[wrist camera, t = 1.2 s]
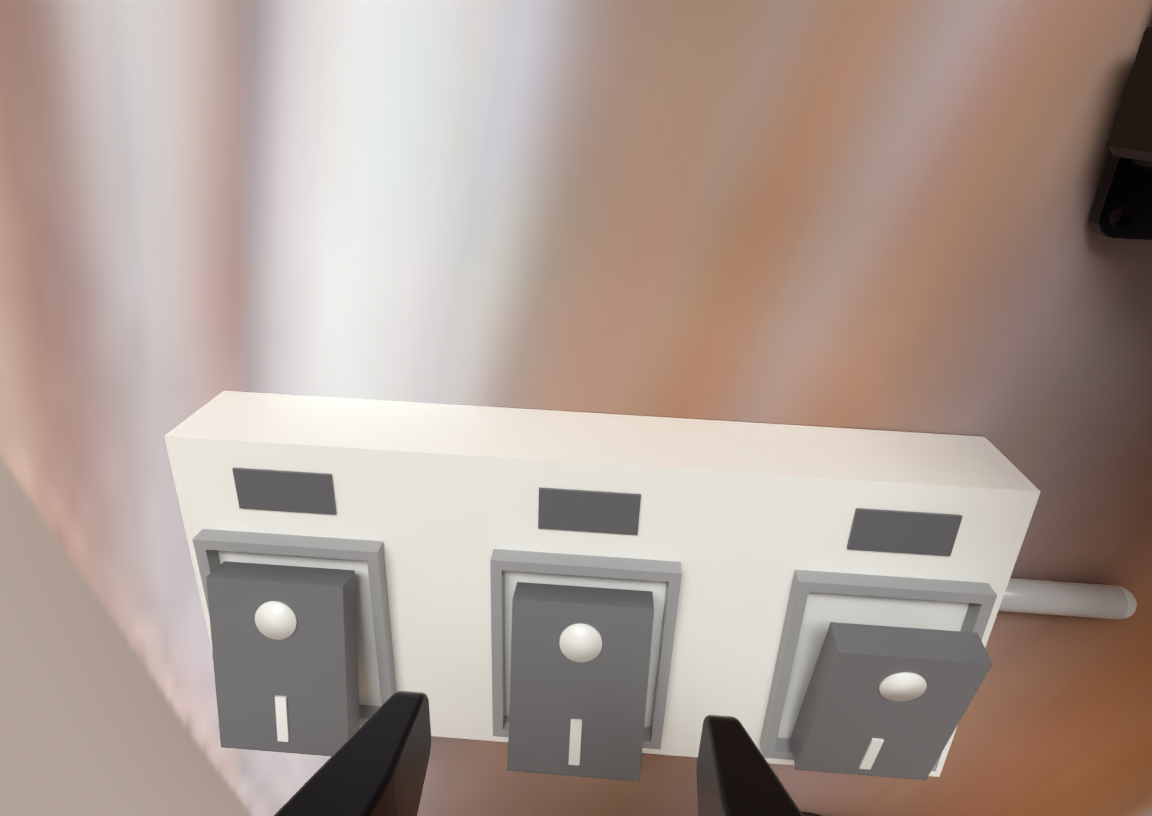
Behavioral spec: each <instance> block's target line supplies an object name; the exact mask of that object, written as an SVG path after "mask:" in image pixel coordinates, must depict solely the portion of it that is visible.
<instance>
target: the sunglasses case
mask: <svg viewBox="0 0 1152 816" xmlns="http://www.w3.org/2000/svg"><path fill="white" fill-rule="evenodd" d="M801 813H802V815H803V816H821V815H818V814H813V813H807V812H801Z"/></svg>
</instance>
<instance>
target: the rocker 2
mask: <svg viewBox="0 0 1152 816" xmlns="http://www.w3.org/2000/svg"><path fill="white" fill-rule="evenodd" d="M991 665H992V662H991V660H990V658H989V656H988V654H987V651H986V649H985V647H984V645H983V643H982V641H981V639H980V637H979V635H978V633H975V632H961V631H947V630H933V629H919V628H905V627H891V626H877V625H863V624H850V623H836V622H830V625H829V628H828V631H827V634H826V637H825V639H824V642H823V645H822V648H821V651H820V654H819V657H818V660H817V662H816V665H815V668H814V671H813V674H812V677H811V680H810V683H809V686H808V688H807V691H806V694H805V697H804V700H803V703H802V706H801V709H800V711H799V714H798V717H797V720H796V723H795V726H794V729H793V732H792V735H791V737H790V743H791V748H792V753H793V759H794V764H795V769H796V770H807V771H820V772H832V773H845V774H857V775H870V776H882V777H895V778H907V779H920V780H926V779H927V778H928V776H929V774H930V772H931V771H932V769H933V767H934V765H935V764H936V762H937V760H938V758H939V757H940V755H941V753H942V751H943V750H944V748H945V746H946V744H947V743H948V741H949V739H950V737H951V735H952V734H953V732H954V730H955V728H956V727H957V725H958V723H959V721H960V720H961V718H962V716H963V714H964V713H965V711H966V709H967V707H968V706H969V704H970V702H971V700H972V699H973V697H974V695H975V693H976V692H977V690H978V688H979V686H980V685H981V683H982V681H983V679H984V678H985V676H986V674H987V672H988V671H989V669H990V667H991Z"/></svg>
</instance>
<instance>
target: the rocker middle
mask: <svg viewBox="0 0 1152 816" xmlns="http://www.w3.org/2000/svg"><path fill="white" fill-rule="evenodd" d="M653 616H654V603H653V593H652V591H639V590H625V589H611V588H597V587H583V586H568V585H554V584H540V583H526V582H517V585H516V588H515V592H514V595H513V600H512V634H511V669H510V704H509V738H508V771H519V772H531V773H544V774H556V775H568V776H580V777H592V778H605V779H617V780H629V781H640V771H641V759H642V747H643V735H644V723H645V711H646V700H647V688H648V676H649V664H650V652H651V640H652V628H653Z"/></svg>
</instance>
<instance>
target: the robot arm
mask: <svg viewBox="0 0 1152 816" xmlns="http://www.w3.org/2000/svg"><path fill="white" fill-rule="evenodd" d="M1108 145H1109V148H1110V150H1111V151H1110V154H1109V157H1108V160H1107V163H1106V166H1105V169H1104V172H1103V175H1102V178H1101V181H1100V185H1099V188H1098V191H1097V194H1096V197H1095V200H1094V203H1093V206H1092V209H1091V212H1090V218H1089V222H1090V225H1091V228H1092V229H1093V230H1094V231H1095V232H1096V233H1099V234H1102V235H1105V236H1109V237H1112V238H1125V239H1145V240H1152V24H1151V25H1150V26H1149V27H1148V28H1147V29H1146V30H1145V32H1144V35H1143V38H1142V41H1141V44H1140V47H1139V51H1138V54H1137V57H1136V60H1135V63H1134V66H1133V69H1132V72H1131V75H1130V78H1129V81H1128V84H1127V87H1126V91H1125V94H1124V97H1123V100H1122V103H1121V106H1120V109H1119V112H1118V115H1117V118H1116V121H1115V124H1114V127H1113V131H1112V134H1111V137H1110V140H1109V144H1108ZM1118 207H1122V209H1123V212H1122V216H1121V217H1120V219H1119V220H1118V221H1117V222H1115V223H1114V224H1111V223H1110V216H1111V215H1112V213H1113V211H1114V210H1116V209H1117V208H1118ZM430 748H431V727H430V711H429V699H428V697H427V695H426V694H425V693H423V692H410V691H398V692H396V693H394V694H393V695H392V696H391V697H390V698H389V699H388V700H387V701H386V702H385V703H384V704H383V705H382V706H381V707H380V708H379V709H378V710H377V711H376V712H375V713H374V714H373V715H372V716H371V717H370V718H369V719H368V720H367V721H366V722H365V723H364V724H363V725H362V726H361V727H360V728H359V729H358V730H357V731H356V732H355V733H354V734H353V735H352V736H351V737H350V739H349V740H348V741H347V742H346V743H345V744H344V745H343V746H342V747H341V748H340V749H339V750H338V751H337V752H336V753H335V754H334V755H333V756H332V757H331V758H330V759H329V760H328V761H327V762H326V763H325V764H324V765H323V766H322V767H321V768H320V769H319V770H318V771H317V772H316V773H315V774H314V775H313V776H312V777H311V778H310V779H309V780H308V781H307V782H306V783H305V785H304V786H303V787H302V788H301V789H300V790H299V791H298V792H297V793H296V794H295V795H294V796H293V797H292V798H291V799H290V800H289V801H288V802H287V803H286V804H285V805H284V806H283V807H282V808H281V809H280V810H279V811H278V812H277V813H276V814H275V815H274V816H417V813H418V808H419V803H420V798H421V794H422V789H423V784H424V779H425V775H426V770H427V765H428V760H429V755H430ZM697 791H698V813H699V816H803V815H802V813H801V812H800V810H799V809H798V807H797V806H796V804H795V803H794V801H793V800H792V798H791V797H790V795H789V794H788V792H787V791H786V789H785V788H784V786H783V785H782V783H781V782H780V780H779V779H778V777H777V776H776V774H775V773H774V771H773V770H772V768H771V767H770V765H769V764H768V762H767V761H766V760H765V758H764V757H763V755H762V754H761V752H760V751H759V749H758V748H757V746H756V745H755V743H754V742H753V740H752V739H751V737H750V736H749V734H748V733H747V731H746V730H745V728H744V727H743V725H742V724H741V722H740V721H739V720H738V719H737V718H735V717H732V716H719V715H708V716H706V717H705V719H704V721H703V727H702V733H701V740H700V746H699V753H698V760H697Z"/></svg>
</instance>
